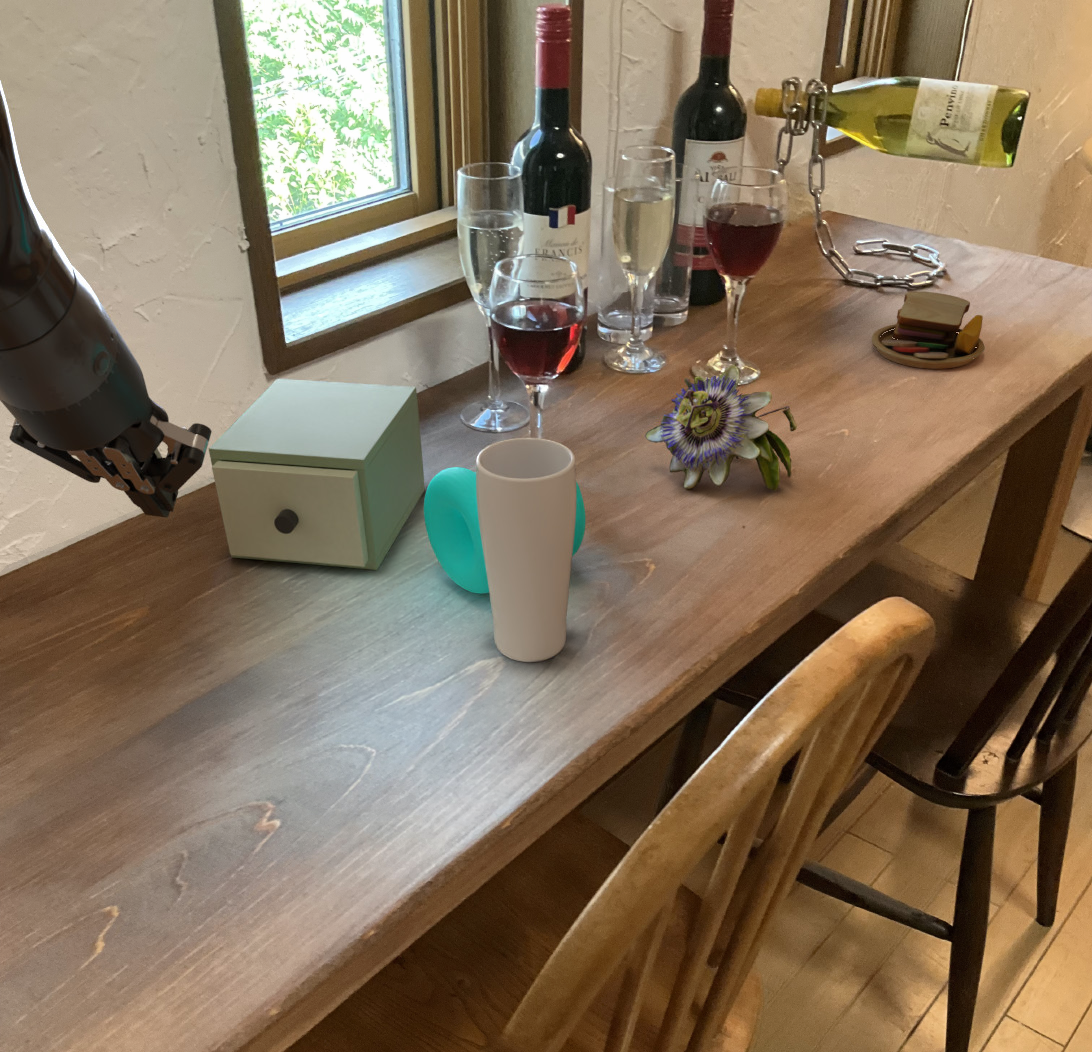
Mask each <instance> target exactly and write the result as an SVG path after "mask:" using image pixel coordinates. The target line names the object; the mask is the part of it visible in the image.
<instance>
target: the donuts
mask: <svg viewBox="0 0 1092 1052" xmlns="http://www.w3.org/2000/svg"><path fill="white" fill-rule="evenodd" d="M425 490H426V491H425V493H424V500H423V518H424V524H425V530H426V534H427V538H428V540H429V543H430V546H431V548H432V551H433V553H434V555H435V557H436V559H437V561H438V563H439V565H440V566H441V567H442V568H441V569H443V570H444V572H445V573H446V575H447V576H448V577H449V578H450V579H451V580H452V581H453V582H454V583H455V584H456V585H457V586H459V587H460V588H462V589H464V590H465V591H468V592H470V593H473V594H489V587H488V580H487V574H486V567H485V561H484V554H483V548H482V541H481V535H480V528H479V520H478V510H477V496H476V471H473V470H472V469H469V468H466V467H460V466H452V467H446V468H444V469H442V470H440V471H439V472H438V473H436V474H435V475H434V476H433V477H432V479H431V480H430V481H429V483H428V486H427V488H426V489H425ZM586 520H587V519H586V509H585V503H584V497H583V494H582V491H581V488H580V485H579V483H578V480H576V521H575V533H574V543H573V553H572V558H573V557H574V556H575V555H576V553H577V552H578V550H579V549H580V547H581V545H582V544H583V540H584V536H585V531H586V523H587V522H586Z"/></svg>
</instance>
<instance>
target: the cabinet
mask: <svg viewBox="0 0 1092 1052" xmlns="http://www.w3.org/2000/svg"><path fill="white" fill-rule="evenodd" d="M417 393H418V391H417V387H416V386H407V385H391V384H390V385H388V384H375V383H374V384H373V383H356V382H341V381H325V380H324V381H323V380H307V379H291V378H276V380H274V381H273V382H272V383H271V384H270V385H269V386H268V387H267V389H266V390H264V391H263V392H262V393H261V395H259V397H258V398H257V399H256V400H255V401H253V402H252V404H251V405H250V406H249V407H248V408H247V409H246V410H245V411H244V412H243V413H241V415H240V416H239V417H238V418H237V419H236V420H235V421H234V422H233V423H232V424H231V425H230V426H229V427H228V428H227V429H226V430H225V431H224V432H223V433H222V434H221V435H220V437H218V438H217V439H216V440H215V441H214V442H213V444H211V446H209V447H208V454H209V458H210V463H211V467H212V466H213V465H214V464H215V463H216V462H217V461H228V462H236V461H246V462H259V463H273V464H286V465H300V466H314V467H327V468H341V469H354V471H357V472H358V479H359V487H360V495H361V503H362V511H363V519H364V527H365V535H366V543H367V551H368V559H369V560H368V562H367V563H366V565H365V566H364V567H361V566H349V565H338V564H326V563H315V562H304V561H292V560H281V559H269V558H258V557H246V556H235V555H230V556H231V558H234V559H246V560H247V559H248V560H257V561H258V560H259V561H270V562H281V563H293V564H305V565H316V566H324V567H325V566H327V567H338V568H348V569H349V568H350V569H351V568H352V569H359V570H372V571H378V569H379V567H380V566H381V564H382V563H383V561H384V559H385V558H386V556H387V554H388V553H389V550H390V549H391V547H392V546H393V544H394V542H395V540H396V539H397V537H398V535H399V534H400V533H401V531H402V529H403V527H404V525H405V524H406V522H407V521H408V519H409V517H410V516H411V513H412V512H413V510H414V508H415V507H416V505H417V504H418V502H419V500H420V499H421V497H422V495H423V494H424V492H425V490H426V485H425V475H424V474H425V472H424V462H423V461H424V460H423V450H422V438H421V428H420V427H421V426H420V413H419V404H418V394H417Z"/></svg>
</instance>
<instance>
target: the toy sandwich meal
mask: <svg viewBox="0 0 1092 1052" xmlns="http://www.w3.org/2000/svg"><path fill="white" fill-rule="evenodd" d="M970 306H971V302H970V301H969V300H967V299H965V298H961V297H958V296H955V295H950V294H946V293H939V292H934V291H933V292H932V291H908V292H906V293H905V294H904V299H903V304H902V305H901V308H899V309H898V310H897V314H896V324H891V325H887V326H883V327H881V328H879V329H877V330H876V331H875V332H874V333H872V335H871V342H872V345H873V346H874V345H875V346H876V347H877V348H876V347H875V346H874V347H875V348H876V350H877V352H878V353H879V354H880V355H881V356H882V357H884V358H885V359H887V360H889V361H891V362H894V363H896V364H899V365H902V366H907V367H912V368H916V369H926V370H946V369H947V370H948V369H955V368H960V367H963V366H965V365H969V363H971V362H973V361H974V360H975V359H977V358H978V357H980V356H981V355H982V354H983V353H984V351H985V348H986V345H985V343H984V341H983V340H982V339H981V338H980V335H981V332H982V328H983V319H984V317H983V315H981V314H976V315H975V316H974V317H972V319H970V321H968V322H967V324H965V325H964V327H963V328H961V326H962V323H963V319H964V317H965V314H966V313H968V312H969V310H970ZM894 328H895V329H894ZM891 329H894V330H891ZM889 330H891V331H889ZM886 331H888V332H886ZM884 332H886V333H884ZM956 332H959V334H958V333H956ZM883 333H884V334H883ZM882 334H883V335H882ZM880 336H881V337H880ZM892 337H893V338H895V339H893V338H892ZM897 339H898V340H897ZM975 347H977V348H975ZM973 358H974V359H973Z"/></svg>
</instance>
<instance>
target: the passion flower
mask: <svg viewBox="0 0 1092 1052" xmlns="http://www.w3.org/2000/svg"><path fill="white" fill-rule="evenodd" d="M740 371H741V370H740V368H739V367H738V366H737V364H736V363H734V364H731V365H729V366H727V367H726V368H725V369H724V371H723V372H722V374H720V375H718V376H717V375H712V376H711V377H710V378H709V377H708V376H707V377H706V378H703V377H702V376H699V375H697V376H695V377H694V380H693V382H694V383H692V382H691V379H689V378H688V377H686V378H684V383H685V385H686V386H687V389H685V388H684V387H682V388H681V389H680V391H681V393H678V392H676V393H675V396H677V397H675V398H674V399H673V398H671V402H672V403H674V404H675V405H674V407H673V410H672V411H671V412H670V413H667V414H666V413H665V414H663V415H662V419H661V422H660V424H659V425H657V426H655V427H653V428H651V429H650V430H648V431H647V432H645V435H644V437H645V439H646V441H649V442H650V443H655V444H657V443H665V446H666V449H667V450H668V451H669V453H670V454H671V455H672V457H671V460H670V462H669V469H668V470H669V473H671V474H672V473H680V472H684V474H685V476H684V479H683V480H684V481H683V488H684V489H686V490H691V489H693V488H694V487H696V486H697V485H698V484H699V483H700V482H701V480H702V477H703V475H704V472H705V471H707V472H708V474H709V478H710V481H711V482H712V483H713V484H714V485H715V486H717V487H720V486H722V485H723V484H724V483H726V481H727V480H728V478H729V476H730V471H731V464H732V461H733V460H734V458H735V459H736V460H739V459H740V458H742V459H745V460H747V461H752V460H753V461H754V460H755V461H756V464H757V467H758V470H759V472H760V474H761V477H762V481H763V482H764V485H765V487H766V489H768V490H771V491H772V492H775V491H777V490H778V488H779V485H780V482H781V466H780V462H781V463H782V465H783V467H784V469H785V470H786V472H787V474H786V476H787V478H791V477H792V457H791V451H790V449H789V448H788V446H787V444H786V443H785V442H784V441H783V440H782V438H780V436H778V435H777V434H776V433H774V432H772V430H770V428H769V427H770V425H769V422H767V421H766V420H764V419H761V417H764V416H767V415H770V414H773V413H777V412H779V411H782V413H783V414H784V416H785V418H786V419H787V421H788V423H789V430H790V432H795V431H796V430H797V428H798V425H797V423H796V421H795V418H794V416H793V414H792V412H791V409H790V406H788V405H786V406H783V407H779V408H776V409H773V410H770V411H767V412H763V413H762V414H759V415H758V416H757V415H756V413H757V412H759V411H760V410H763V409H764V408H765V407H766V406H768V405H769V404H770V403H771V401H772V398H773V395H772V392H771V391H758V392H757V391H756V392H752V393H748V394H745V393H744V394H743V393H740V394H738V392H739V391H740V389H738V386H739V382H740ZM779 459H780V461H779Z"/></svg>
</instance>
